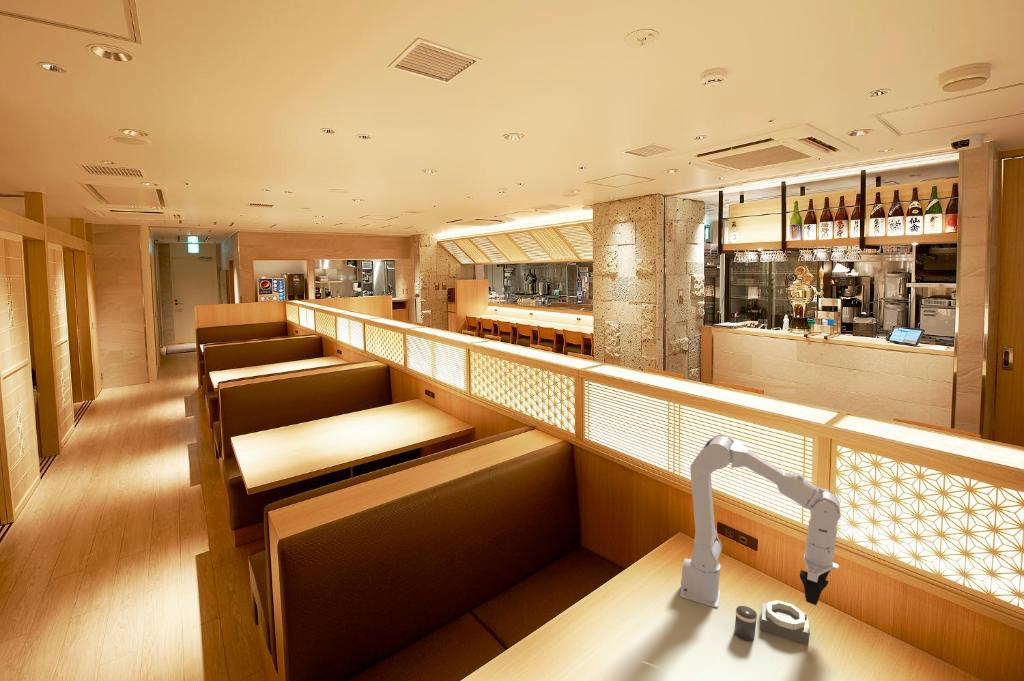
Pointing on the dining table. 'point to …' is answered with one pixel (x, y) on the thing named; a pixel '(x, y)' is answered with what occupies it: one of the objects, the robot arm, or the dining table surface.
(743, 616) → the lens
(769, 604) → the octagonal ring base
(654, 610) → the dining table surface
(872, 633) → the dining table surface
